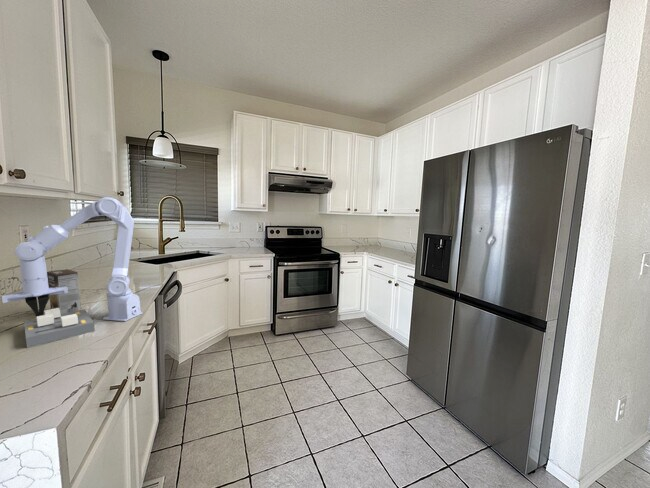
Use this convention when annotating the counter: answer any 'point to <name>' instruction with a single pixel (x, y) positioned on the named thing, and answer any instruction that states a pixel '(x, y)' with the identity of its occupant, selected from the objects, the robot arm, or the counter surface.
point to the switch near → (69, 320)
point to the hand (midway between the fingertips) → (39, 318)
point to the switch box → (57, 329)
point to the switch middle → (45, 319)
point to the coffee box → (65, 300)
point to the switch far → (55, 312)
